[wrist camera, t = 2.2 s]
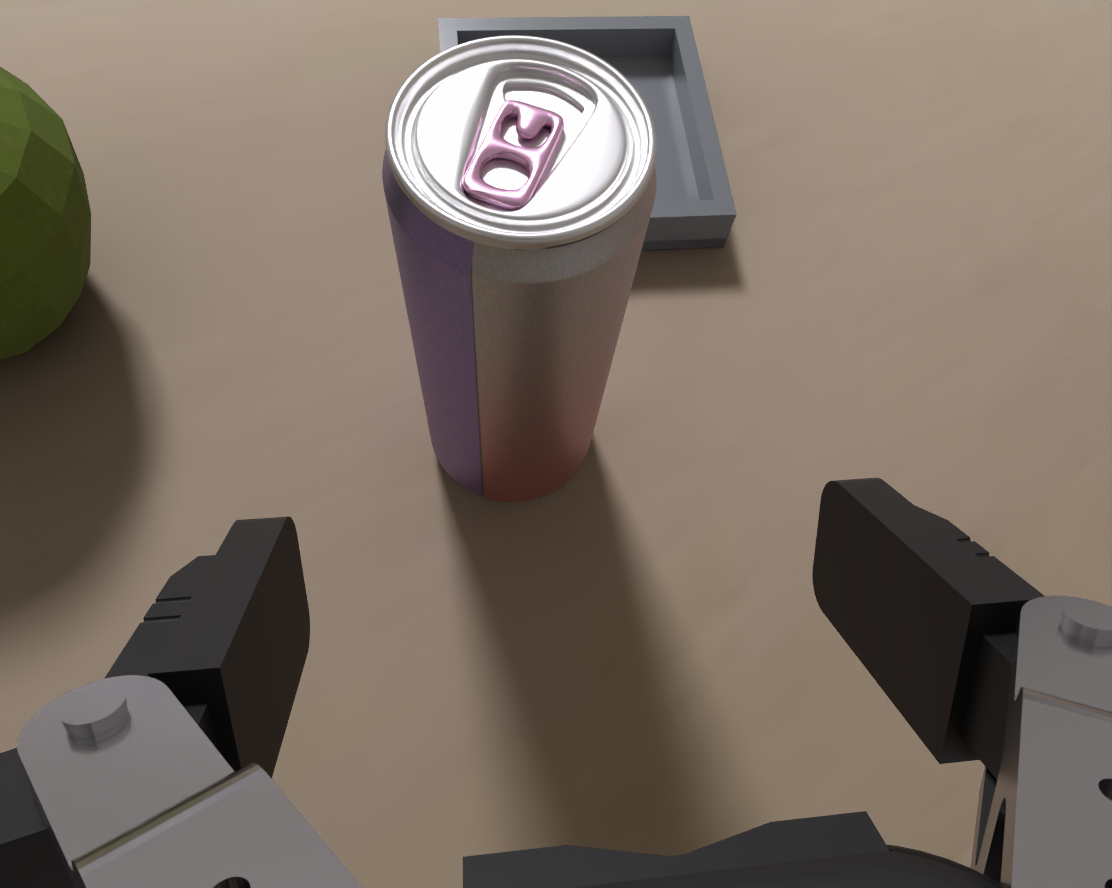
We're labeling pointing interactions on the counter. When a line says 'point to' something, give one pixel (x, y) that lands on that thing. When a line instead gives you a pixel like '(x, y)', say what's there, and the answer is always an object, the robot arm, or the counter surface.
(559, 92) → the beverage can
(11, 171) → the apple
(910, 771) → the counter surface
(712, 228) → the tray
